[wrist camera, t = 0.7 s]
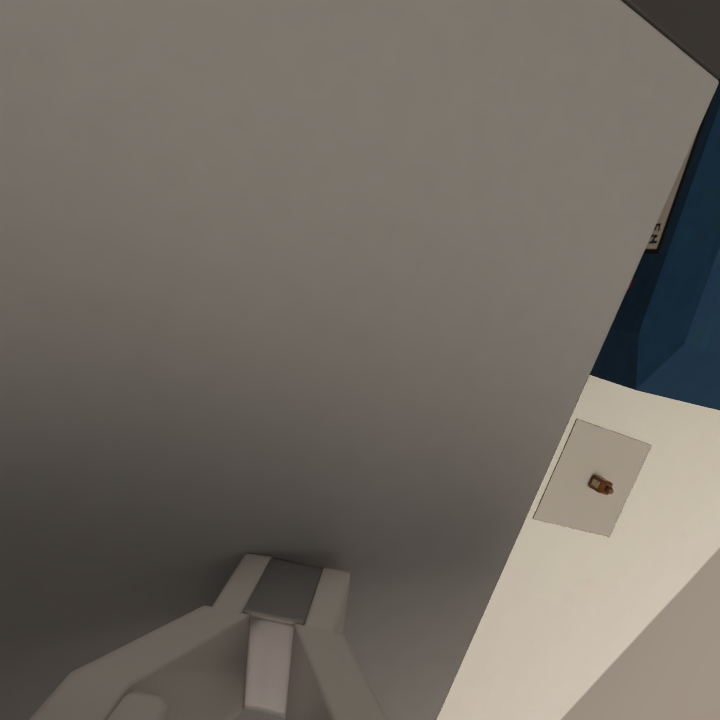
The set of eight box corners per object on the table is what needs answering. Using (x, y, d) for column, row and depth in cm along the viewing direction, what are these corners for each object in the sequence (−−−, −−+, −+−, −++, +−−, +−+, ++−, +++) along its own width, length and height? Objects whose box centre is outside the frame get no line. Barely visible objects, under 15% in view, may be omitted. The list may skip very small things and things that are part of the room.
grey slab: (651, 445, 37) (673, 455, 35) (609, 537, 38) (628, 550, 36) (577, 419, 34) (597, 428, 32) (533, 518, 35) (550, 532, 33)
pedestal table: (279, 498, 29) (379, 851, 12) (12, 442, 24) (-455, 911, 7) (432, 96, 26) (832, -171, 9) (169, -61, 21) (25, -1227, 4)
